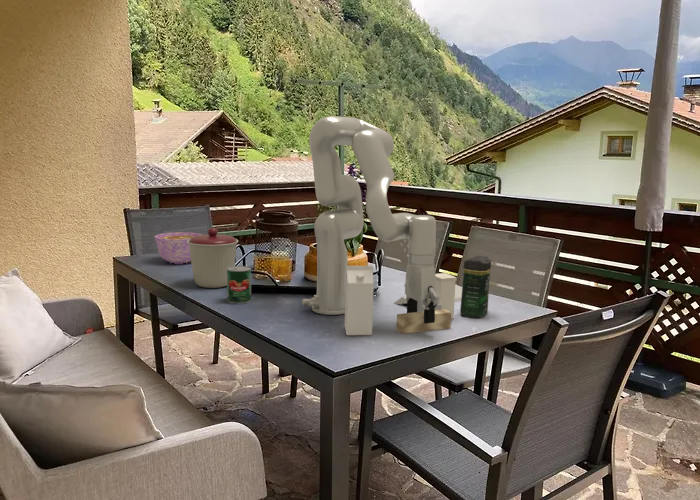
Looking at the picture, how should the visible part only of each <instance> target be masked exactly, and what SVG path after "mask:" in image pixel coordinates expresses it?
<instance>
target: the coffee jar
mask: <svg viewBox="0 0 700 500" xmlns="http://www.w3.org/2000/svg"><path fill="white" fill-rule="evenodd" d="M491 267H492V260H491V259H490V258H489V257H488V256H485V255H484V256H483V255H474V256H472V257H469V258H467V259H465V260H464V261H463V266H462V268H463V270H462V297H461V301H460V310H459V311H460V314H461V315H462V316H466V317H467V318H482V317H484V316H486V315H487V314H488V312H489V311H488V309H489V295H490V294H489V293H490V292H489V290H490V279H491V269H492V268H491Z"/></svg>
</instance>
